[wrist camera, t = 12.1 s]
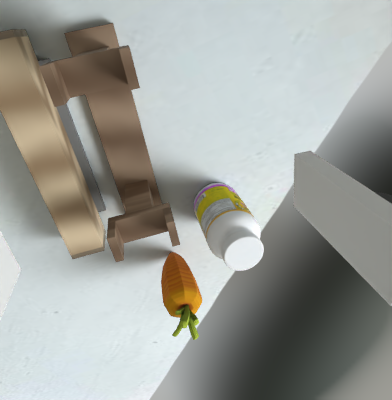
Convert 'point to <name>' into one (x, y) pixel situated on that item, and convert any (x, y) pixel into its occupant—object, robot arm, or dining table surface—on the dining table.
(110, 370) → the dining table surface
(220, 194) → the supplement bottle
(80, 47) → the rack
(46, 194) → the rail
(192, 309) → the carrot
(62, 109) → the mat
